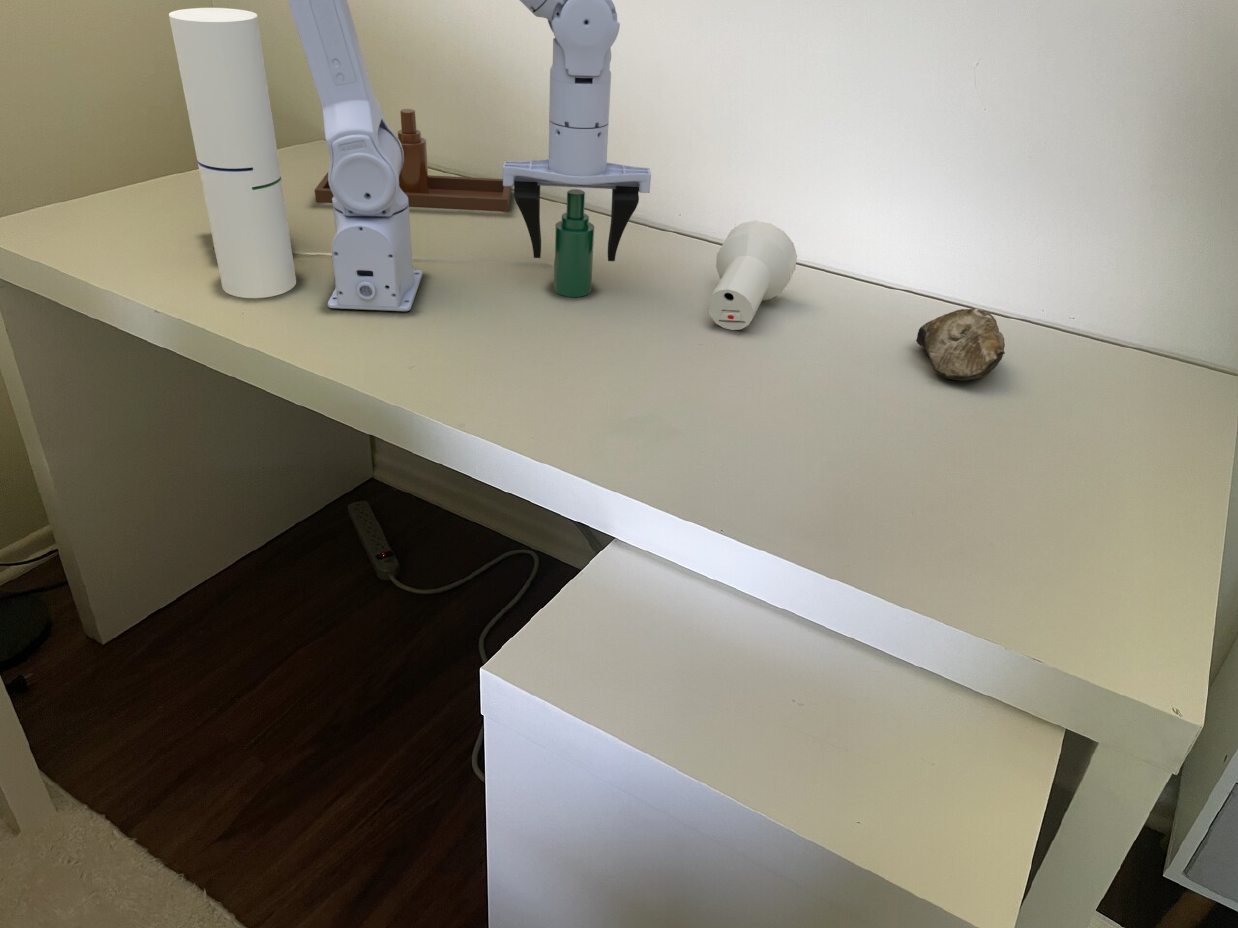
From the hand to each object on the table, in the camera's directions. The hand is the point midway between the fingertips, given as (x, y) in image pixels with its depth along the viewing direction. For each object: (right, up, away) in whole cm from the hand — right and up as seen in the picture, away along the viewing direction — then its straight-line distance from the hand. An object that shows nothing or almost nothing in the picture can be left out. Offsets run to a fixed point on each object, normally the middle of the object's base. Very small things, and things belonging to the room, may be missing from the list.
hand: (574, 256), depth 95 cm
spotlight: (+18, -5, +1) cm, 19 cm away
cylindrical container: (-32, -3, -2) cm, 32 cm away
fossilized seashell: (+37, -12, -7) cm, 40 cm away
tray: (-21, +12, +22) cm, 33 cm away
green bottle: (0, -3, +2) cm, 4 cm away
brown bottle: (-22, +13, +22) cm, 33 cm away
